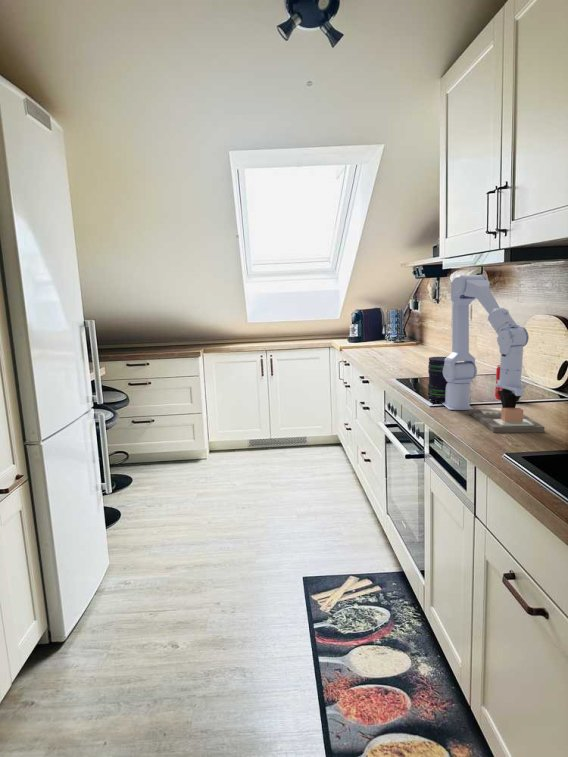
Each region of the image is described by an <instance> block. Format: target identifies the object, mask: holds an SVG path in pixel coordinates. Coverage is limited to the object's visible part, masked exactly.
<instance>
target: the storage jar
mask: <svg viewBox="0 0 568 757" xmlns="http://www.w3.org/2000/svg"><path fill="white" fill-rule="evenodd" d="M446 357H447V356H431V357H428V366H427V368H428V371H427V373H428V383H427V400H428V399H431V400H436V401H443V402H442V403H445V393H446V385H447V383H448V382H447V381H446V379H445V378H444V376H443V367H444V363H445V358H446ZM431 400H430V401H431ZM436 401H435V402H436Z"/></svg>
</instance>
